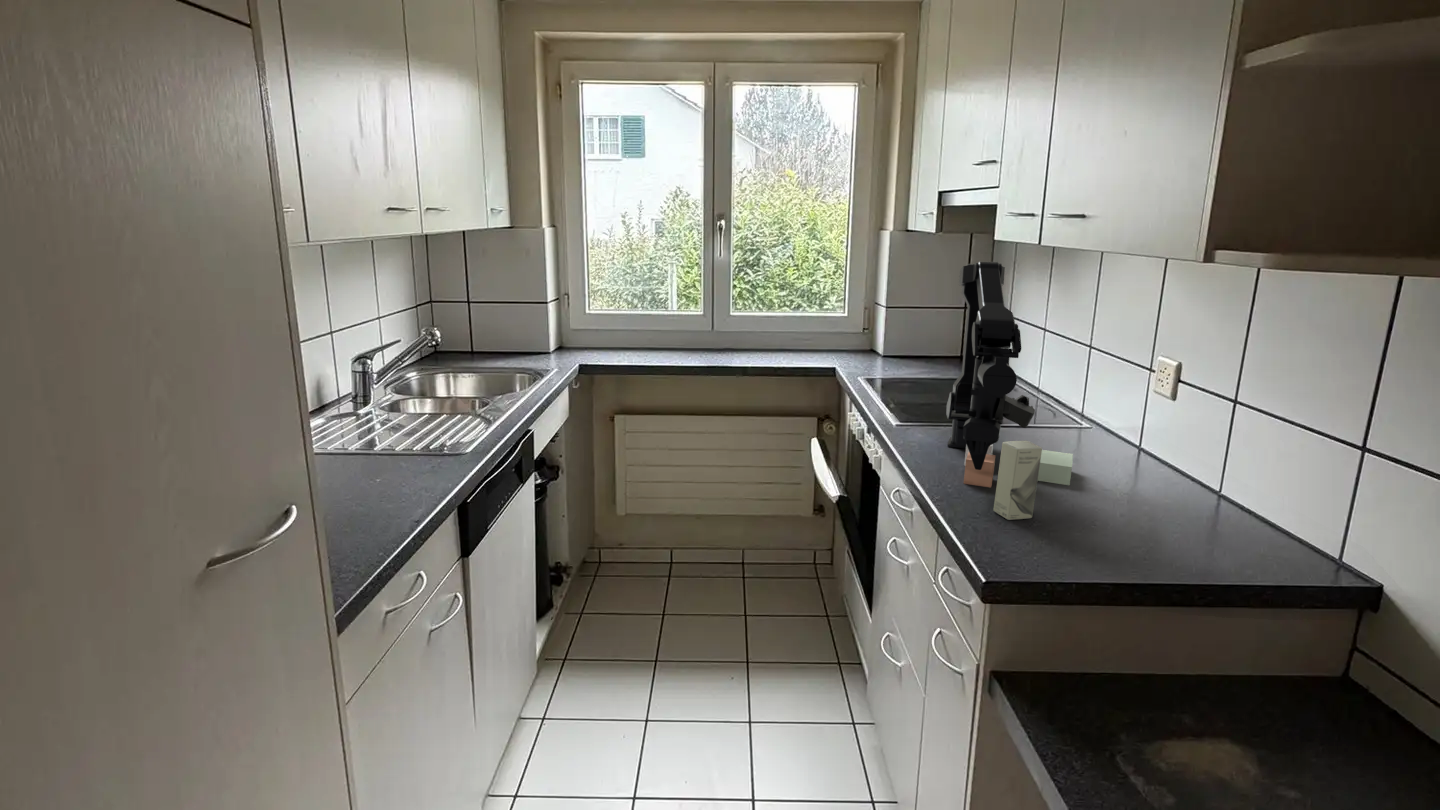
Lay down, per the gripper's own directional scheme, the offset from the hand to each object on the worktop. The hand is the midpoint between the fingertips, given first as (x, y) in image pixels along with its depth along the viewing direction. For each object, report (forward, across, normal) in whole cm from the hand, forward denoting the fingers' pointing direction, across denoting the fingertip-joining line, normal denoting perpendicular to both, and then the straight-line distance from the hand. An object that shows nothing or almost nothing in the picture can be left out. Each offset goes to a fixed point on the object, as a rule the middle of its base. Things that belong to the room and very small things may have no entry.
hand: (980, 462), depth 149 cm
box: (+4, -15, -7) cm, 17 cm away
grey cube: (+4, +11, +1) cm, 12 cm away
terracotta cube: (+4, 0, 0) cm, 4 cm away
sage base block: (+4, +10, -12) cm, 16 cm away
